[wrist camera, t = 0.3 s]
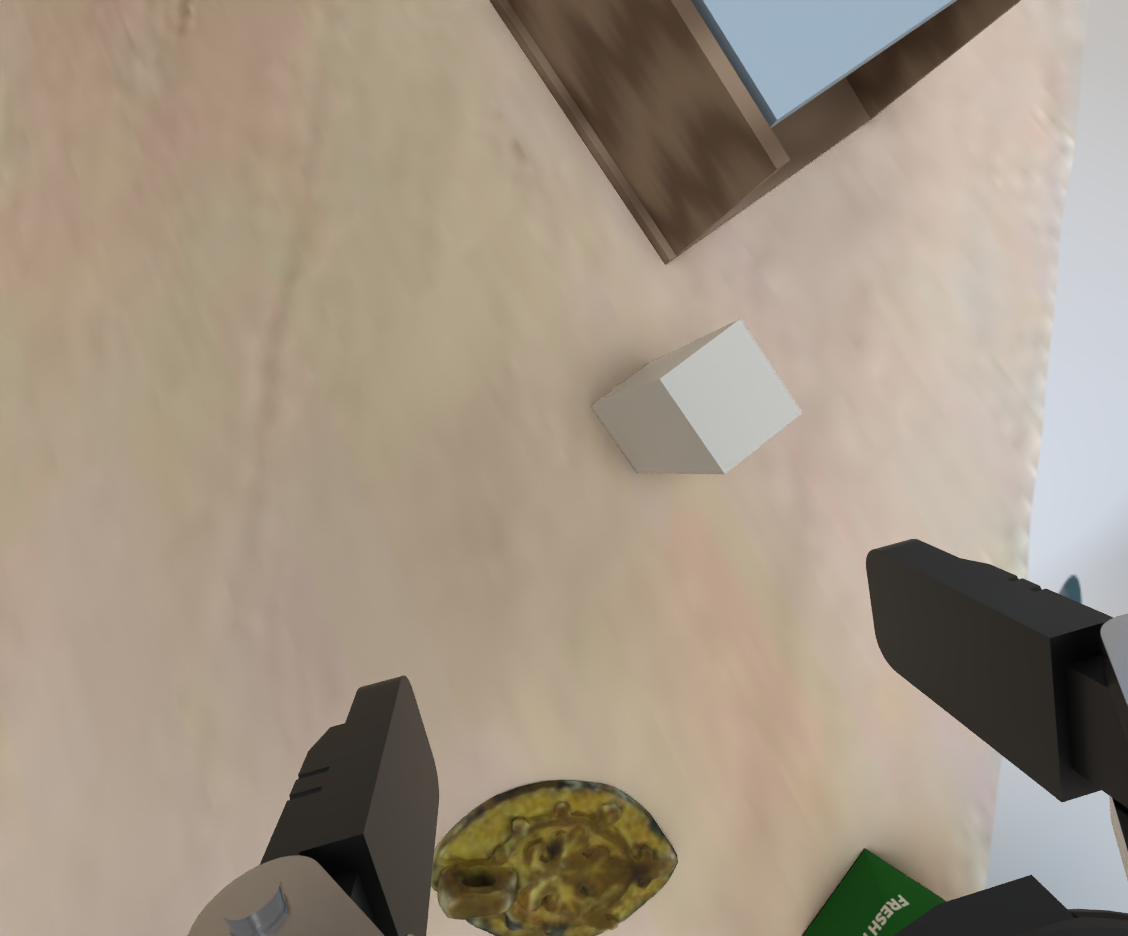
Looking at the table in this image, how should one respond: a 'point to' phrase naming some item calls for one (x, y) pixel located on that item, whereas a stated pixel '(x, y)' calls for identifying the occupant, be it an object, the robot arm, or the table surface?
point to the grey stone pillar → (698, 406)
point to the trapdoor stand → (703, 103)
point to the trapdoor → (806, 42)
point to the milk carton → (873, 901)
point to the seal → (552, 861)
